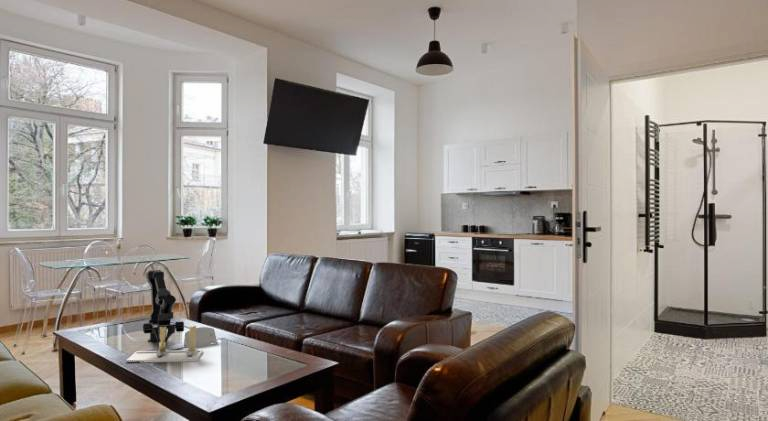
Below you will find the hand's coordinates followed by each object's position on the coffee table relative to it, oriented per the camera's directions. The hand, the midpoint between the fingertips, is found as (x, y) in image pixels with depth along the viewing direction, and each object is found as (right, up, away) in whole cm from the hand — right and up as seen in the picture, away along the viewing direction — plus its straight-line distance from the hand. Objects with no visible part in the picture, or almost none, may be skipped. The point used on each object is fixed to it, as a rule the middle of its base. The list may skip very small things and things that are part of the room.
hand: (162, 342), depth 229 cm
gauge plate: (+1, -8, +2) cm, 8 cm away
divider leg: (0, -6, 0) cm, 6 cm away
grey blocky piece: (+9, -8, +25) cm, 28 cm away
